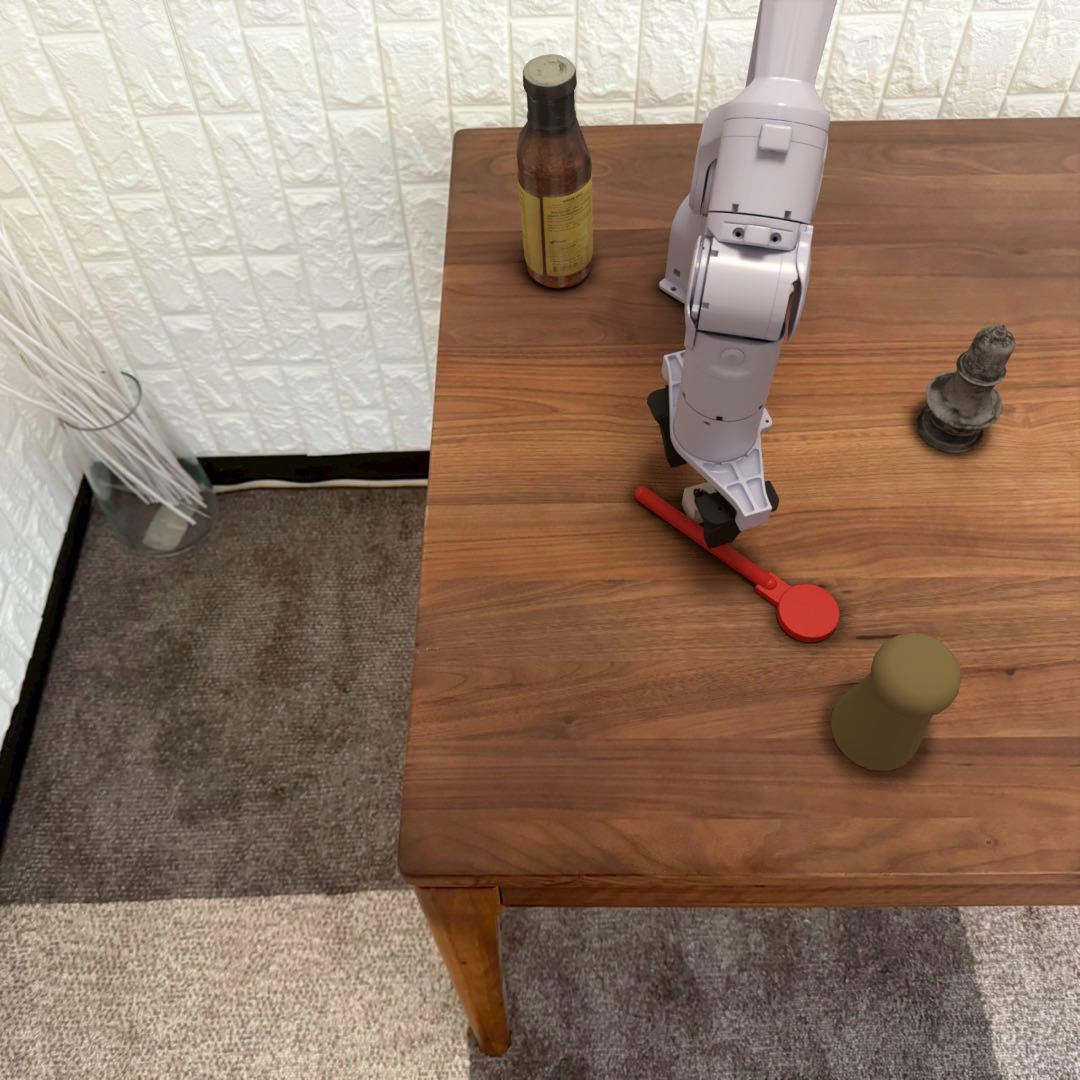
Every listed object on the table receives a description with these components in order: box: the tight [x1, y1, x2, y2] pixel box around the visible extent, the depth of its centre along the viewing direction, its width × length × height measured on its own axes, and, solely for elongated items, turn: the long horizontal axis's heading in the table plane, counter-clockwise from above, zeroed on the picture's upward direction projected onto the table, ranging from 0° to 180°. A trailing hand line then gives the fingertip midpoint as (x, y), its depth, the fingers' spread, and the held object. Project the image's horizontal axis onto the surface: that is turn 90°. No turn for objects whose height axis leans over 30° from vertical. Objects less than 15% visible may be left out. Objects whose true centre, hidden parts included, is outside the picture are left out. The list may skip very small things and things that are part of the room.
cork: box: [830, 632, 963, 772], centre depth 65 cm, size 6×6×11 cm
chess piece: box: [915, 324, 1016, 454], centre depth 78 cm, size 6×6×12 cm
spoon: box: [634, 486, 840, 643], centre depth 76 cm, size 18×4×1 cm, turn 48°
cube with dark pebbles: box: [681, 481, 716, 525], centre depth 78 cm, size 2×2×2 cm
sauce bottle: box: [515, 53, 594, 289], centre depth 84 cm, size 6×6×20 cm
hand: (699, 500), depth 78 cm, fingers open, 7 cm apart
